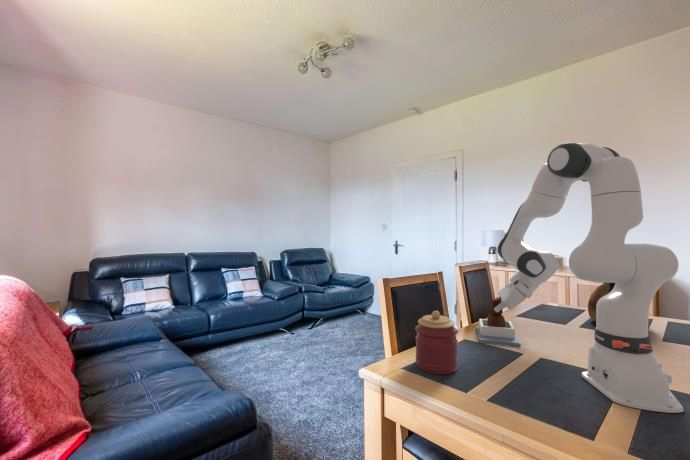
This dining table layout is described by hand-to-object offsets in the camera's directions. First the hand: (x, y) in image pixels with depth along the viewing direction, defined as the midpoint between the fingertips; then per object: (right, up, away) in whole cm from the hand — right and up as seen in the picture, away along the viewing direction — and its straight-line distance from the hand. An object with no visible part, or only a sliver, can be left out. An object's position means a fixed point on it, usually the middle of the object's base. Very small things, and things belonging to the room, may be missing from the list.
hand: (494, 308), depth 131 cm
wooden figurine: (+1, -10, 0) cm, 10 cm away
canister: (-31, -12, -28) cm, 44 cm away
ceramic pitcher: (+59, -10, +11) cm, 61 cm away
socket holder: (0, -11, -2) cm, 11 cm away
